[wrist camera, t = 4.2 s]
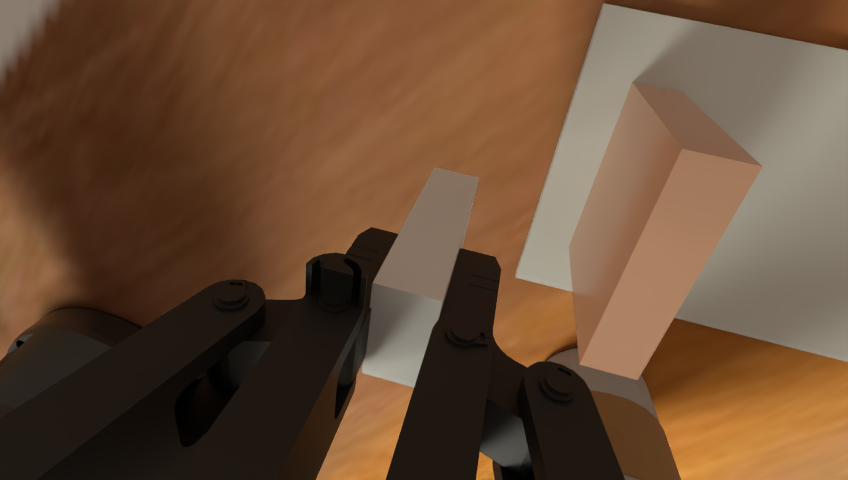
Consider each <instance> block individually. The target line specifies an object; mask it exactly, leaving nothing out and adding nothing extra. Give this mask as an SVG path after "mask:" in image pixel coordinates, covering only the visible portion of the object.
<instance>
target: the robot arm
mask: <svg viewBox="0 0 848 480" xmlns="http://www.w3.org/2000/svg"><path fill="white" fill-rule="evenodd" d="M478 182H479V177H475V176H471V175H466V174H462V173H458V172H453V171H449V170H445V169H441V168H436V167H434V169H433V171H432V172H431V174H430V176H429V178H428V180H427V182H426V184H425V186H424V187H423V189H422V191H421V193H420V195H419V197H418V199H417V201H416V202H415V204H414V206H413V208H412V210H411V212H410V214H409V216H408V217H407V219H406V221H405V223H404V225H403V227H402V229H401V231H400V232H399V234H396V233H392V232H388V231H384V230H380V229H376V228H370V229H368V230H366V231H364V232H362V233H361V234H359V235H358V236H357V238H356V239H355V241H354V242H353V244H352V246H351V247H350V248H349V250H348V251H347V253H346V254H340V253H329V254H322V255H319V256H317V257H314V258H312V259H311V260H310V261H309V262H307V263H306V294H305V296H304V297H303V298H302V299H297V300H267V299H265V294H264V292H263V290H262V288H260V287H259V286H258V285H256V284H255V283H252V282H249V281H246V280H226V281H221V282H218V283H215V284H213V285H211V286H209V287H207V288H205V289H204V290H202V291H201V292H199V293H197V294H196V295H194V296H193V297H191V298H190V299H188V300H186V301H185V302H183V303H182V304H180V305H179V306H177V307H175V308H174V309H172V310H171V311H169V312H167V313H166V314H164V315H163V316H161V317H160V318H158V319H156V320H155V321H153V322H152V323H150V324H148V325H147V326H145V327H144V328H142V329H140V328H138V327H136V326H134V325H132V324H130V323H128V322H126V321H124V320H122V319H120V318H117V317H115V316H112V315H109V314H106V313H103V312H99V311H95V310H90V309H83V308H66V309H60V310H56V311H53V312H51V313H49V314H48V315H46V316H45V317H43V318H42V319H40V320H39V321H38V322H36V323H35V324H33V325H32V326H31V327H29V328H28V329H26V330H25V331H24V332H23V333H21V334H20V335H19V336H18V337H17V338H16V339H15V341H14V342H13V343H12V345H11V346H10V348H9V350H8V352H7V355H6V356H5V357H4V358H3V359H2V360H1V361H0V480H316V477H317V475H318V473H319V471H320V468H321V466H322V464H323V461H324V459H325V457H326V455H327V452H328V450H329V448H330V446H331V443H332V441H333V439H334V436H335V434H336V432H337V430H338V427H339V425H340V423H341V420H342V418H343V416H344V414H345V411H346V409H347V407H348V404H349V402H350V400H351V398H352V395H353V393H354V390H355V384H356V377H357V373H358V371H359V368H360V366H361V364H362V362H363V367H362V373H364V374H368V375H371V376H375V377H378V378H382V379H385V380H389V381H392V382H396V383H399V384H403V385H406V386H410V387H413V388H414V390H413V393H412V396H411V400H410V403H409V406H408V409H407V413H406V416H405V419H404V422H403V426H402V429H401V432H400V435H399V439H398V442H397V445H396V448H395V451H394V455H393V458H392V461H391V464H390V468H389V471H388V474H387V477H386V480H476V473H477V466H478V459H479V451H480V452H482V453H483V454H485V455H486V456H488V457H489V458H491V459H492V460H493V471H494V477H495V480H625V478H624V476H623V473H622V470H621V468H620V465H619V463H618V460H617V458H616V455H615V452H614V450H613V447H612V445H611V442H610V440H609V437H608V435H607V432H606V429H605V427H604V424H603V422H602V419H601V417H600V414H599V412H598V409H597V406H596V404H595V401H594V399H593V396H592V394H591V391H590V389H589V387H588V386H587V384H586V383H585V381H584V379H582V378H581V377H580V376H579V375H578V374H577V373H576V372H575V371H573V370H572V369H570V368H568V367H566V366H564V365H562V364H559V363H554V362H550V361H545V362H537V363H535V364H533V365H531V366H529V367H528V368H527V367H525V366H523V365H522V364H520V363H518V362H516V361H514V360H513V359H511V358H510V357H508V356H507V355H506V354H505V353H504V352H503V351H502V350H501V349H500V348H499V347H498V345H497V344H496V342H495V340H494V337H493V324H494V317H495V309H496V302H497V295H498V288H499V281H500V274H501V268H500V266H499V264H498V262H497V260H496V258H495V257H493V256H489V255H485V254H481V253H477V252H473V251H469V250H465V249H463V245H464V241H465V236H466V232H467V228H468V224H469V219H470V215H471V211H472V207H473V203H474V198H475V194H476V190H477V186H478Z"/></svg>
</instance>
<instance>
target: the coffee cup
mask: <svg viewBox="0 0 848 480" xmlns="http://www.w3.org/2000/svg"><path fill="white" fill-rule="evenodd" d="M547 361H550V362H554V363H559V364H562V365H564V366H566V367H568V368H570V369H572V370H573V371H575V372H576V373H577V374H578V375H579V376H580V377H581V378H582V379H584V381H585V383H586V384H587V386H588V387H589V389H590V391H591V394H592V396H593V399H594V401H595V404H596V406H597V409H598V412H599V414H600V417H601V419H602V422H603V424H604V427H605V429H606V432H607V435H608V437H609V440H610V442H611V445H612V447H613V450H614V452H615V455H616V458H617V460H618V463H619V465H620V468H621V470H622V473H623V476H624V478H625V480H681V478H680V476H679V473H678V470H677V467H676V464H675V461H674V458H673V455H672V453H671V450H670V447H669V444H668V441H667V438H666V435H665V433H664V430H663V428H662V427H661V425H660V423H659V420H658V417H657V414H656V411H655V408H654V405H653V402H652V399H651V396H650V393H649V391H648V388H647V385H646V383H645V381H644V379H643V377H642V376H641V375H640V377H639V379H638V380H635V379H631V378H628V377H624V376H620V375H616V374H613V373H609V372H605V371H602V370H598V369H594V368H591V367H587V366H583V365H579V355H578V348H575V349H570V350H566V351H563V352H560V353H558V354H556V355H554V356H553V357H551V358H549V359H548V360H547Z"/></svg>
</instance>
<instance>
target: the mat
mask: <svg viewBox="0 0 848 480" xmlns="http://www.w3.org/2000/svg"><path fill="white" fill-rule="evenodd" d="M632 82H634V83H639V84H643V85H648V86H653V87H658V88H663V89H668V90H672V91H677V92H682V93H684V94H685V95H686V96H687V97H688V98H689V99H690V100H691V101H693V102H694V103H695V104H696V105H697V106H698V107H699V108H700V109H701V110H702V111H703V112H704V113H706V114H707V115H708V116H709V117H710V118H711V119H712V120H713V121H714V122H715V123H716V124H717V125H718V126H720V127H721V128H722V129H723V130H724V131H725V132H726V133H727V134H728V135H729V136H730V137H731V138H733V139H734V140H735V141H736V142H737V143H738V144H739V145H740V146H741V147H742V148H743V149H744V150H746V151H747V152H748V153H749V154H750V155H751V156H752V157H753V158H754V159H755V160H756V161H757V162H759V163H760V164H761V165H762V166H763V167H762V169H761V170H760V172H759V174H758V175H757V177H756V179H755V181H754V182H753V184H752V186H751V187H750V189H749V191H748V192H747V194H746V196H745V198H744V199H743V201H742V203H741V204H740V206H739V208H738V210H737V211H736V213H735V215H734V216H733V218H732V220H731V221H730V223H729V225H728V227H727V228H726V230H725V232H724V233H723V235H722V237H721V239H720V240H719V242H718V244H717V245H716V247H715V249H714V251H713V252H712V254H711V256H710V257H709V259H708V261H707V262H706V264H705V266H704V268H703V269H702V271H701V273H700V274H699V276H698V278H697V280H696V281H695V283H694V285H693V286H692V288H691V290H690V292H689V293H688V295H687V297H686V298H685V300H684V302H683V303H682V305H681V307H680V309H679V310H678V312H677V314H676V315H675V317H674V318H677V319H681V320H685V321H688V322H692V323H696V324H700V325H704V326H708V327H712V328H716V329H720V330H724V331H728V332H732V333H736V334H739V335H743V336H747V337H751V338H755V339H759V340H763V341H767V342H771V343H775V344H779V345H783V346H787V347H790V348H794V349H798V350H802V351H806V352H810V353H814V354H818V355H822V356H826V357H830V358H834V359H838V360H842V361H845V362H848V50H845V49H840V48H835V47H829V46H824V45H819V44H814V43H809V42H804V41H798V40H793V39H788V38H783V37H778V36H772V35H767V34H762V33H757V32H752V31H746V30H741V29H736V28H731V27H726V26H721V25H715V24H710V23H705V22H700V21H695V20H689V19H684V18H679V17H674V16H669V15H664V14H658V13H653V12H648V11H643V10H638V9H632V8H627V7H622V6H617V5H612V4H607V3H603V4H602V7H601V10H600V13H599V17H598V20H597V23H596V26H595V29H594V32H593V35H592V38H591V41H590V44H589V47H588V50H587V54H586V57H585V60H584V63H583V66H582V69H581V72H580V75H579V78H578V81H577V84H576V87H575V91H574V94H573V97H572V100H571V103H570V106H569V109H568V112H567V115H566V118H565V121H564V124H563V128H562V131H561V134H560V137H559V140H558V143H557V146H556V149H555V152H554V155H553V158H552V161H551V165H550V168H549V171H548V174H547V177H546V180H545V183H544V186H543V189H542V192H541V195H540V198H539V202H538V205H537V208H536V211H535V214H534V217H533V220H532V223H531V226H530V229H529V232H528V235H527V239H526V242H525V245H524V248H523V251H522V254H521V257H520V260H519V263H518V266H517V269H516V273H515V277H516V278H520V279H524V280H528V281H531V282H535V283H539V284H543V285H547V286H551V287H555V288H559V289H563V290H567V291H571V292H573V290H572V279H571V269H570V258H569V245H570V242H571V239H572V237H573V234H574V232H575V229H576V226H577V224H578V221H579V219H580V216H581V213H582V211H583V208H584V206H585V203H586V201H587V198H588V195H589V193H590V190H591V188H592V185H593V182H594V180H595V177H596V175H597V172H598V169H599V167H600V164H601V162H602V159H603V156H604V154H605V151H606V149H607V146H608V143H609V141H610V138H611V136H612V133H613V130H614V128H615V125H616V123H617V120H618V117H619V115H620V112H621V110H622V107H623V105H624V102H625V99H626V97H627V94H628V92H629V89H630V86H631V84H632Z"/></svg>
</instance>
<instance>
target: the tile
mask: <svg viewBox="0 0 848 480" xmlns="http://www.w3.org/2000/svg"><path fill="white" fill-rule="evenodd" d="M762 167H763V166H762V165H761V164H760V163H759V162H757V161H756V160H755V159H754V158H753V157H752V156H751V155H750V154H749V153H748V152H747V151H746V150H744V149H743V148H742V147H741V146H740V145H739V144H738V143H737V142H736V141H735V140H734V139H733V138H731V137H730V136H729V135H728V134H727V133H726V132H725V131H724V130H723V129H722V128H721V127H720V126H718V125H717V124H716V123H715V122H714V121H713V120H712V119H711V118H710V117H709V116H708V115H707V114H706V113H704V112H703V111H702V110H701V109H700V108H699V107H698V106H697V105H696V104H695V103H694V102H693V101H691V100H690V99H689V98H688V97H687V96H686V95H685V94H684V93H682V92H677V91H672V90H668V89H663V88H658V87H653V86H648V85H643V84H639V83H634V82H632V84H631V86H630V89H629V92H628V94H627V97H626V99H625V102H624V105H623V107H622V110H621V112H620V115H619V117H618V120H617V123H616V125H615V128H614V130H613V133H612V136H611V138H610V141H609V143H608V146H607V149H606V151H605V154H604V156H603V159H602V162H601V164H600V167H599V169H598V172H597V175H596V177H595V180H594V182H593V185H592V188H591V190H590V193H589V195H588V198H587V201H586V203H585V206H584V208H583V211H582V213H581V216H580V219H579V221H578V224H577V226H576V229H575V232H574V234H573V237H572V239H571V242H570V245H569V258H570V269H571V279H572V290H573V301H574V312H575V322H576V333H577V344H578V355H579V365H583V366H587V367H591V368H594V369H598V370H602V371H605V372H609V373H613V374H616V375H620V376H624V377H628V378H631V379H635V380H638V379H639V377H640V375H641V374H642V372H643V370H644V368H645V367H646V365H647V363H648V362H649V360H650V358H651V356H652V355H653V353H654V351H655V350H656V348H657V346H658V344H659V343H660V341H661V339H662V338H663V336H664V334H665V333H666V331H667V329H668V327H669V326H670V324H671V322H672V321H673V319H674V317H675V315H676V314H677V312H678V310H679V309H680V307H681V305H682V303H683V302H684V300H685V298H686V297H687V295H688V293H689V292H690V290H691V288H692V286H693V285H694V283H695V281H696V280H697V278H698V276H699V274H700V273H701V271H702V269H703V268H704V266H705V264H706V262H707V261H708V259H709V257H710V256H711V254H712V252H713V251H714V249H715V247H716V245H717V244H718V242H719V240H720V239H721V237H722V235H723V233H724V232H725V230H726V228H727V227H728V225H729V223H730V221H731V220H732V218H733V216H734V215H735V213H736V211H737V210H738V208H739V206H740V204H741V203H742V201H743V199H744V198H745V196H746V194H747V192H748V191H749V189H750V187H751V186H752V184H753V182H754V181H755V179H756V177H757V175H758V174H759V172H760V170H761V169H762Z"/></svg>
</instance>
